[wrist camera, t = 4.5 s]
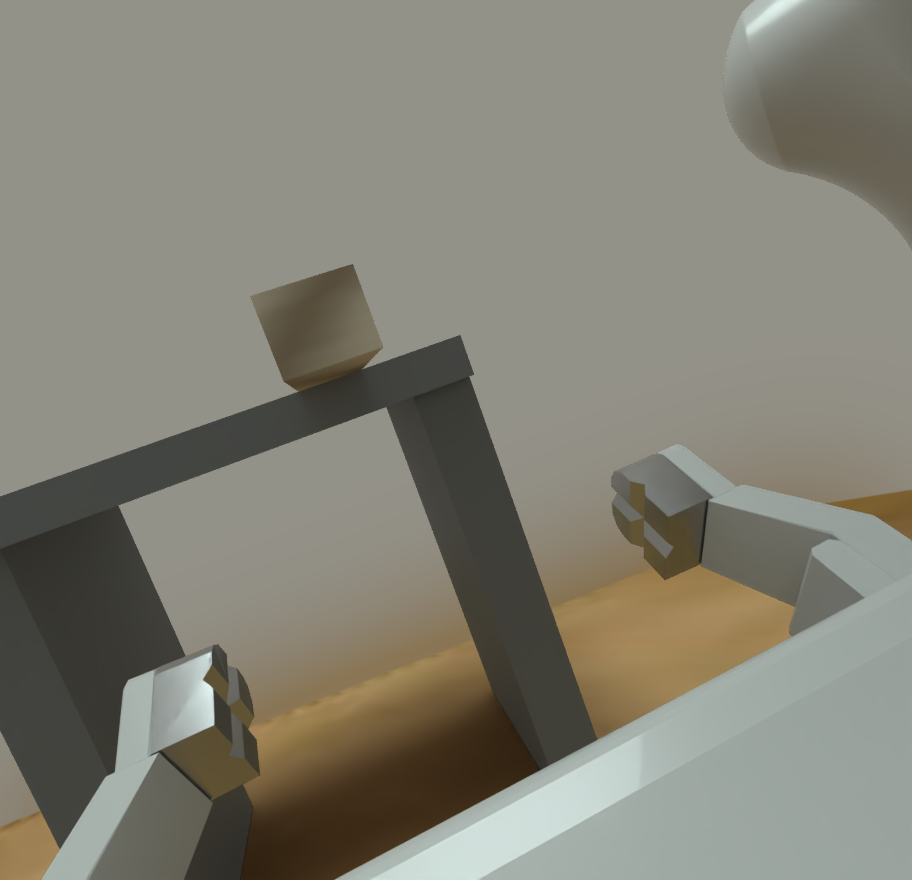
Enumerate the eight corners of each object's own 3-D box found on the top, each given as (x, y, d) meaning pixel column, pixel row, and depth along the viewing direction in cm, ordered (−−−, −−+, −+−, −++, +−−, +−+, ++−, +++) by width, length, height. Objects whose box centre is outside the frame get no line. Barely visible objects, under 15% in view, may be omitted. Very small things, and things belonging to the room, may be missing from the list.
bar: (347, 384, 42) (334, 351, 42) (383, 347, 17) (352, 263, 17) (307, 398, 42) (295, 365, 41) (283, 381, 16) (249, 296, 16)
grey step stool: (521, 666, 47) (410, 362, 43) (622, 798, 31) (460, 335, 28) (214, 814, 42) (63, 485, 39) (148, 1061, 26) (-118, 537, 23)
